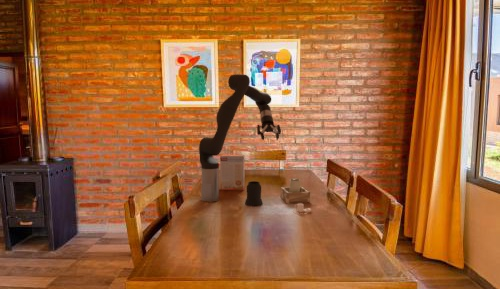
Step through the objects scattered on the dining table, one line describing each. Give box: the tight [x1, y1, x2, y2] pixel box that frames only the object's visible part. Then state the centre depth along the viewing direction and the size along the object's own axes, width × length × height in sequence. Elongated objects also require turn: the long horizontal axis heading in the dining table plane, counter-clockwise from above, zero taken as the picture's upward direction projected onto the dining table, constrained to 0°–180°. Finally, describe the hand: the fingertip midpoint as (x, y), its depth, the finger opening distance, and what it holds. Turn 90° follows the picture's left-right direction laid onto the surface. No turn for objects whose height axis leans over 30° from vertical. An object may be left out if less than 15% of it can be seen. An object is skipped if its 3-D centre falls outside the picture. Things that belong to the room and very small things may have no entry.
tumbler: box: [288, 177, 301, 192], centre depth 172 cm, size 6×6×10 cm
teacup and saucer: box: [291, 203, 312, 215], centre depth 152 cm, size 9×8×4 cm
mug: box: [244, 180, 263, 208], centre depth 165 cm, size 12×9×11 cm
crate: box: [280, 186, 311, 204], centre depth 172 cm, size 13×12×6 cm
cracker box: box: [219, 154, 246, 192], centre depth 192 cm, size 14×6×21 cm, turn 84°
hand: (270, 138), depth 191 cm, fingers open, 8 cm apart
